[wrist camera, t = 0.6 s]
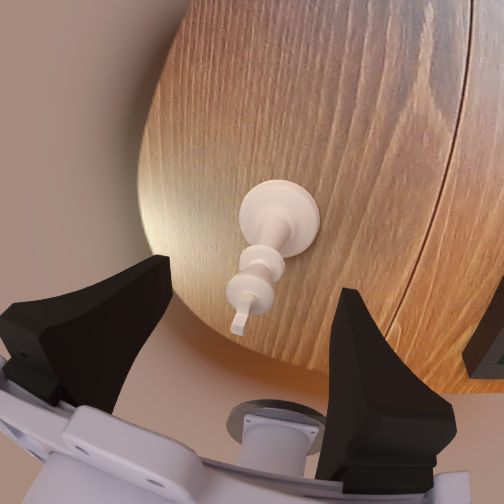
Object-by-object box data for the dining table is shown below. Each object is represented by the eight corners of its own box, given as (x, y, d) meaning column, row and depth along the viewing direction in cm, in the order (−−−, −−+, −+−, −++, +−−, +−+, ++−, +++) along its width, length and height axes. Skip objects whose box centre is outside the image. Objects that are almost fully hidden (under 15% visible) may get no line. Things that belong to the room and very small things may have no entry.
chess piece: (235, 243, 21) (173, 354, 13) (245, 171, 19) (171, 254, 10) (309, 261, 21) (289, 386, 12) (328, 190, 18) (325, 292, 10)
